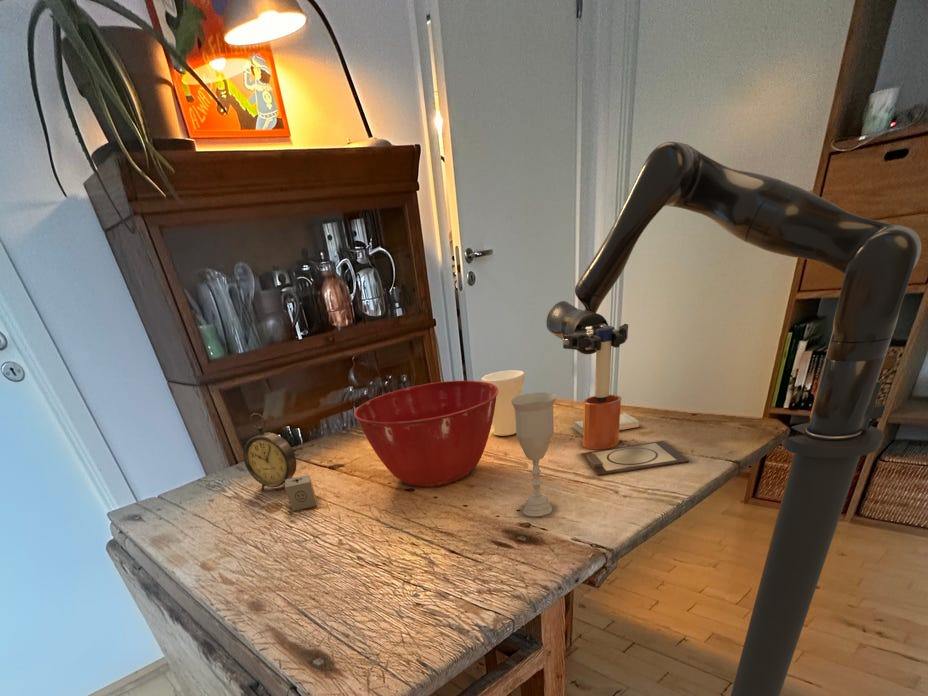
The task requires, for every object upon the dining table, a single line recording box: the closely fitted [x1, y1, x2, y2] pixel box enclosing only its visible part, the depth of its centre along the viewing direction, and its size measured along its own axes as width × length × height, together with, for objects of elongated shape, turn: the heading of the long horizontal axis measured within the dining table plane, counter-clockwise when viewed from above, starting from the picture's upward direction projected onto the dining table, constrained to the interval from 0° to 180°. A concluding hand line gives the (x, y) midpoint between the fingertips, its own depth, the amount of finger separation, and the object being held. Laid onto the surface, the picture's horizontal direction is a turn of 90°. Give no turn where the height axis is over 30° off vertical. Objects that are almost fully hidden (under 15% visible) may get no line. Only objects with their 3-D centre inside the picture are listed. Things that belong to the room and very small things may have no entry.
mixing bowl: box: [353, 380, 498, 488], centre depth 105 cm, size 28×28×16 cm
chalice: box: [511, 392, 557, 517], centre depth 84 cm, size 7×7×18 cm
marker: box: [594, 326, 613, 402], centre depth 103 cm, size 3×3×13 cm
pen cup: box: [582, 394, 622, 450], centre depth 109 cm, size 7×7×9 cm
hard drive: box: [573, 412, 640, 436], centre depth 119 cm, size 2×8×12 cm
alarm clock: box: [242, 412, 297, 491], centre depth 113 cm, size 11×5×16 cm, turn 74°
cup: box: [481, 369, 525, 436], centre depth 123 cm, size 10×10×13 cm
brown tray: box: [580, 440, 690, 477], centre depth 102 cm, size 17×13×1 cm
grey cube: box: [284, 474, 318, 512], centre depth 106 cm, size 5×5×5 cm
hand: (608, 342), depth 98 cm, fingers closed on marker, 3 cm apart
